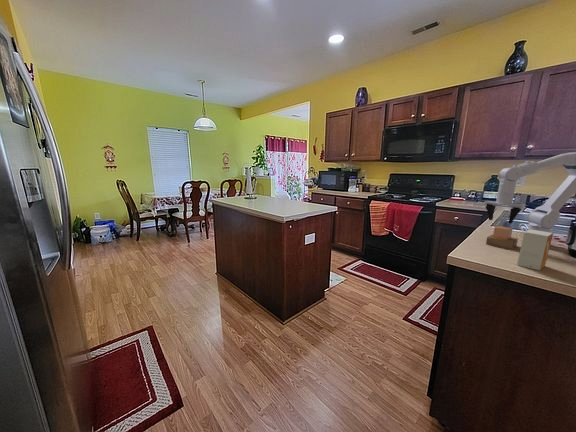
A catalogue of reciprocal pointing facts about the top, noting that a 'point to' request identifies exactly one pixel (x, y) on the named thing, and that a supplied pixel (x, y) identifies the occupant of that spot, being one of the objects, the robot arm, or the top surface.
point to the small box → (534, 249)
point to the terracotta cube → (502, 232)
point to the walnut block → (502, 242)
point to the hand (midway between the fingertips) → (500, 221)
